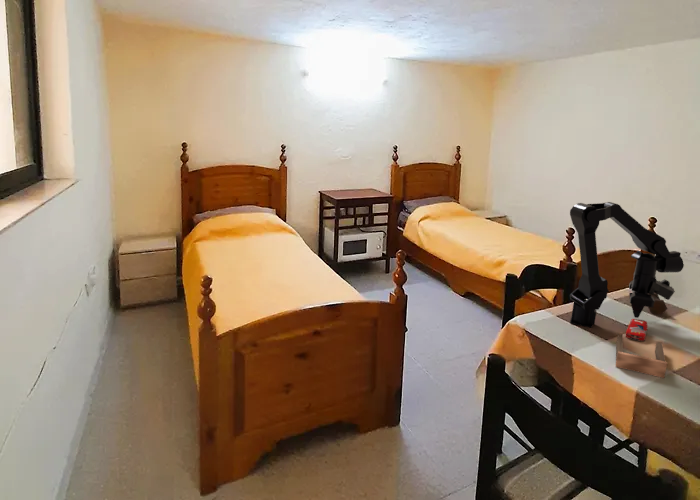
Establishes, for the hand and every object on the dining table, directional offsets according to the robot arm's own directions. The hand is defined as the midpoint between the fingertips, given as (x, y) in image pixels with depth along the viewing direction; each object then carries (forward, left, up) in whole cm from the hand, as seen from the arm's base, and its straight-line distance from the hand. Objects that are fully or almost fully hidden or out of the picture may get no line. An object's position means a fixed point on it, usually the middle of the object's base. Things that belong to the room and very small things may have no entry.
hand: (636, 317), depth 152 cm
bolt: (+6, +19, -2) cm, 20 cm away
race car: (0, -11, -2) cm, 11 cm away
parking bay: (0, -29, -1) cm, 29 cm away
